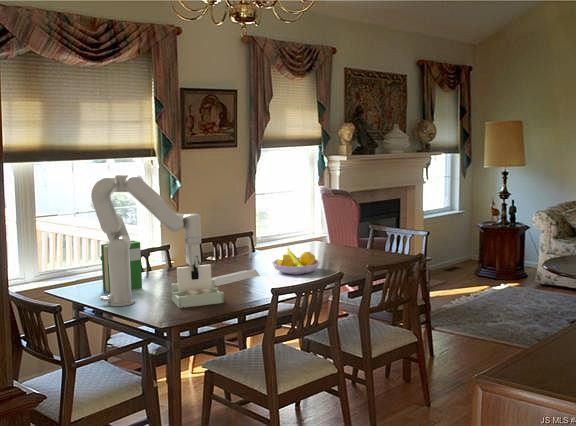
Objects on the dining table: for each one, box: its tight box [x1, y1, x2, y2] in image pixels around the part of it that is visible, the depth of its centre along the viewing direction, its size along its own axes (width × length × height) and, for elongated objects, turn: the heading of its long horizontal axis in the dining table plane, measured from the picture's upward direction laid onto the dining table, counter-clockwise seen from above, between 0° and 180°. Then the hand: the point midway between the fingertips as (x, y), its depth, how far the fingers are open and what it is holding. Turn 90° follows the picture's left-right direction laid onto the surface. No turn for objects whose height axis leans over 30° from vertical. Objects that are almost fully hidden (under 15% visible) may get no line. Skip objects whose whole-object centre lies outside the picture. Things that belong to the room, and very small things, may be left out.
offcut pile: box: [185, 288, 212, 296], centre depth 311 cm, size 12×6×6 cm, turn 116°
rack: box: [170, 279, 225, 309], centre depth 313 cm, size 21×15×8 cm
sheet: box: [176, 264, 212, 292], centre depth 317 cm, size 16×2×16 cm, turn 113°
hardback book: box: [100, 240, 143, 294], centre depth 338 cm, size 18×7×24 cm, turn 129°
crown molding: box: [211, 268, 260, 287], centre depth 360 cm, size 31×12×4 cm, turn 138°
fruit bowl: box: [271, 247, 321, 276], centre depth 376 cm, size 28×27×11 cm
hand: (194, 278), depth 316 cm, fingers closed on sheet, 2 cm apart
